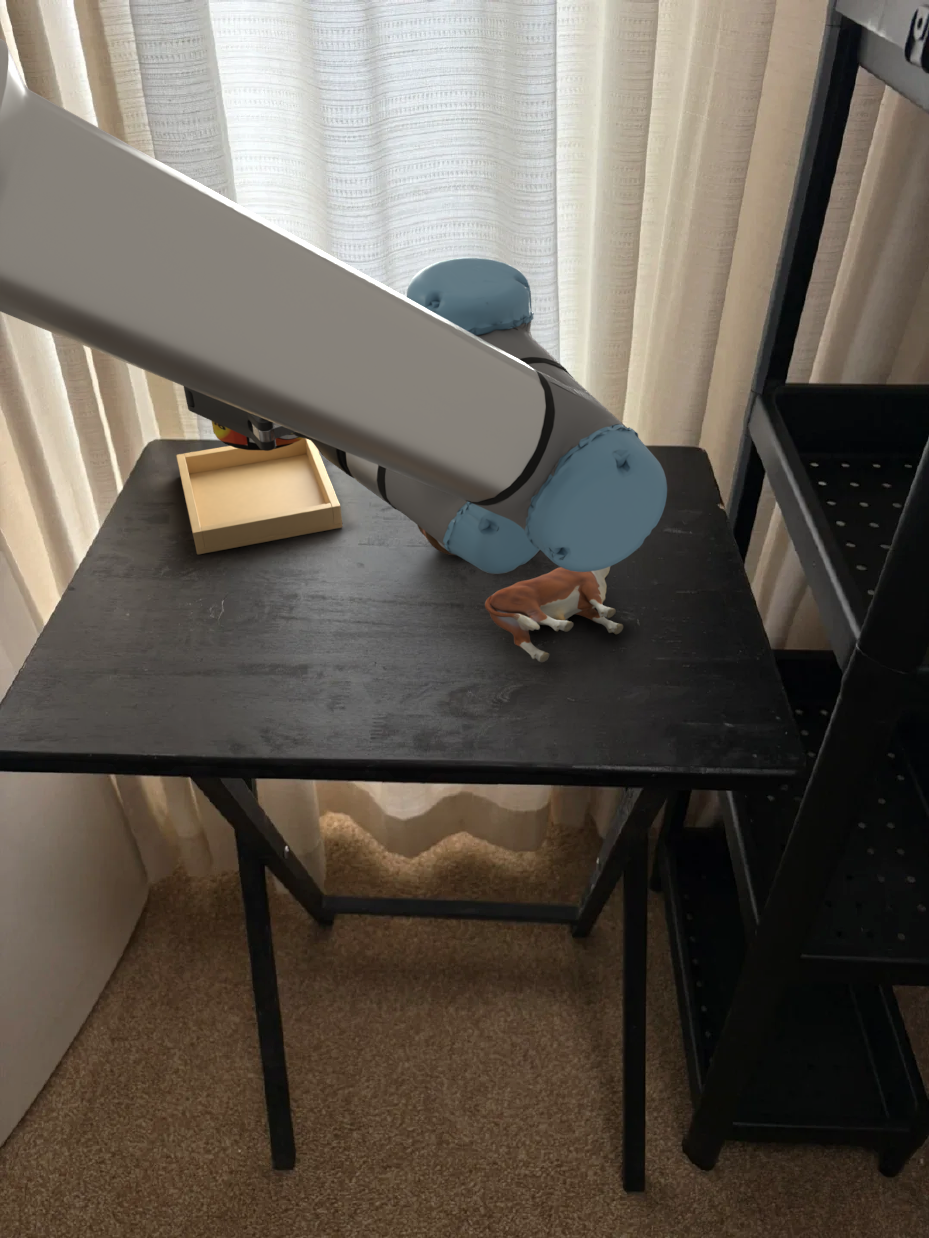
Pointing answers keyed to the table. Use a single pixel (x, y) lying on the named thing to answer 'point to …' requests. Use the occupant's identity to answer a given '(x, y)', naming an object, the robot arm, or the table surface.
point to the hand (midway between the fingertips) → (225, 331)
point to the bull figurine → (551, 605)
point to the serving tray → (256, 495)
